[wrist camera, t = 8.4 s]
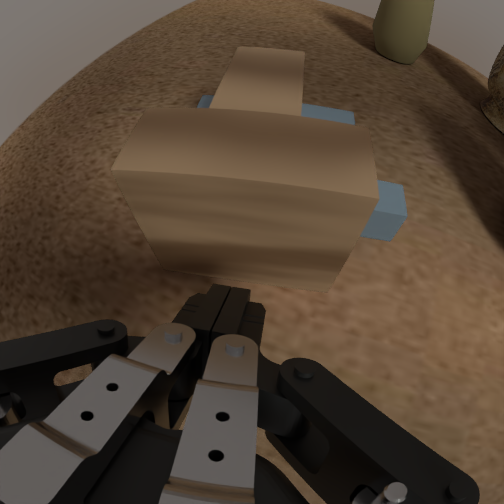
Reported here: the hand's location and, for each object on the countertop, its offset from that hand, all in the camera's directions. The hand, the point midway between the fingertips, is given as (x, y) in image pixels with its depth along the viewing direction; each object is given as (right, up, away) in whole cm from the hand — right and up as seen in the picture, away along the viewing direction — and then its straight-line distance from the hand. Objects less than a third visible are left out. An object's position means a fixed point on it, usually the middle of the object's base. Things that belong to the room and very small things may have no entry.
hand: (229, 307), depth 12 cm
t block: (+1, +5, +9) cm, 10 cm away
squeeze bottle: (+21, +30, +22) cm, 43 cm away
